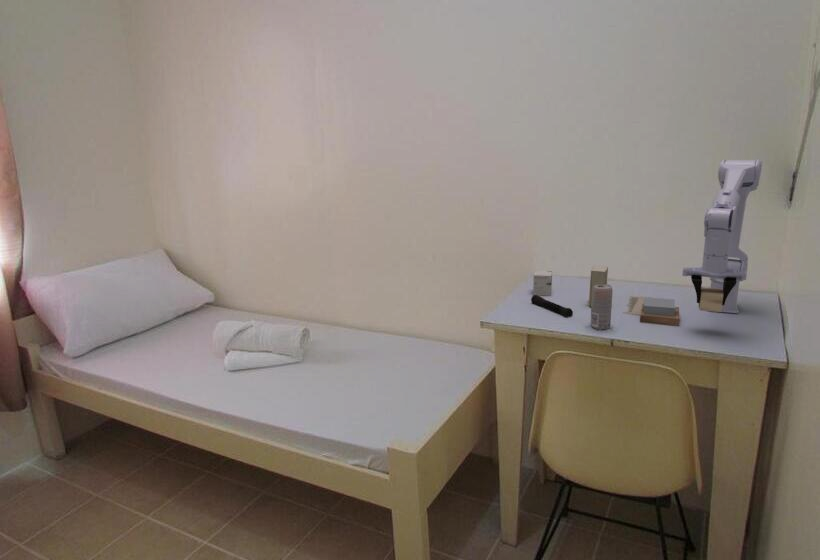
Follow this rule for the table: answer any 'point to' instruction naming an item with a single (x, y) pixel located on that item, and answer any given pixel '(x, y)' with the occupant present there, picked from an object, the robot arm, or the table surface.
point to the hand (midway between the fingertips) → (710, 303)
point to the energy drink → (601, 306)
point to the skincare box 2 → (597, 278)
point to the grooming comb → (635, 305)
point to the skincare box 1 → (542, 283)
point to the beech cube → (711, 299)
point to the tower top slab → (659, 306)
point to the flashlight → (551, 306)
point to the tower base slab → (660, 318)
